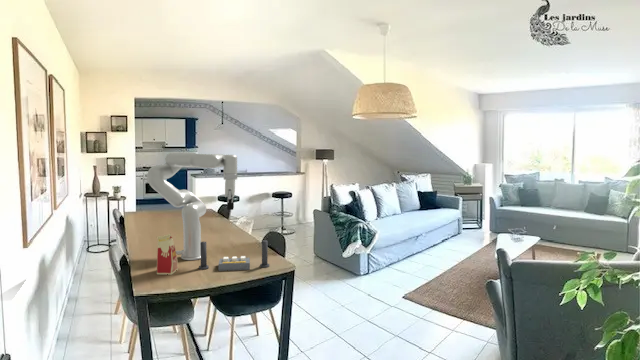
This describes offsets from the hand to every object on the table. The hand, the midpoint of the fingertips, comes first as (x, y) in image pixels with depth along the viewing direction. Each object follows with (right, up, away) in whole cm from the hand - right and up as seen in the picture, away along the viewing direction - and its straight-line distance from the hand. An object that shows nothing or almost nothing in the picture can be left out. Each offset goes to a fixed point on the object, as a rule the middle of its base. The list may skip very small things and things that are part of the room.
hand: (230, 208), depth 225 cm
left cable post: (-11, -30, -14) cm, 35 cm away
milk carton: (-28, -31, -21) cm, 47 cm away
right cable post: (+21, -31, -9) cm, 38 cm away
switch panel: (+5, -31, -12) cm, 33 cm away
